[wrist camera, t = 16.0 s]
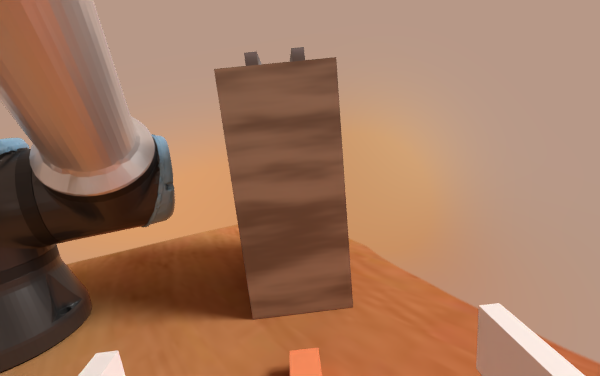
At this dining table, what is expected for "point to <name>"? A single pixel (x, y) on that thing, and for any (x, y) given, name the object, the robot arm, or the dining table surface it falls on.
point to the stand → (288, 182)
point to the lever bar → (305, 362)
